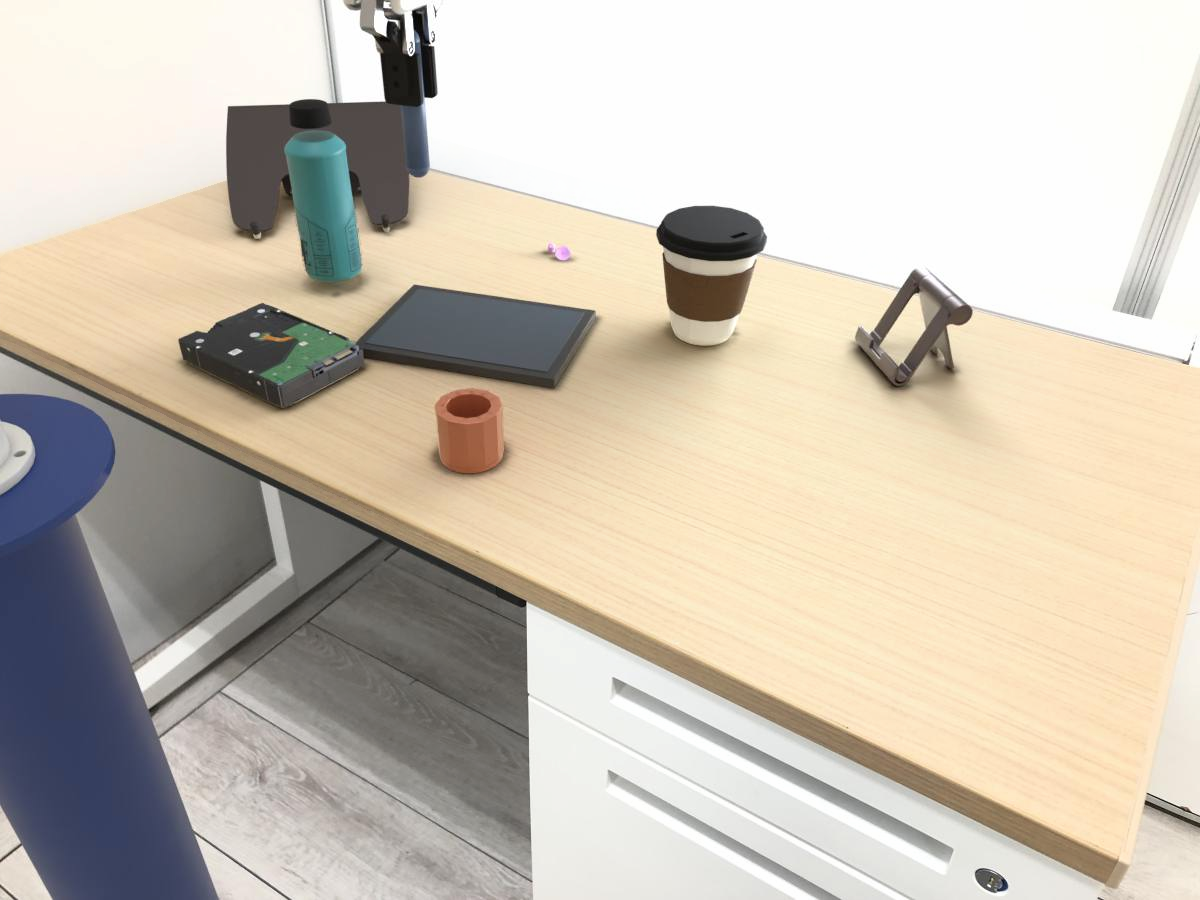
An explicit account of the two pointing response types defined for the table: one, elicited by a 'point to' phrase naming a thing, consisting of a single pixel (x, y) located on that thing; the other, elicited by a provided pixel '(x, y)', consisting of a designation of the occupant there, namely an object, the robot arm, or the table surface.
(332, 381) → the disk drive
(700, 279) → the coffee cup
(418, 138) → the blue rounded rod
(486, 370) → the tablet
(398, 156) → the laptop tray
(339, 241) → the beverage bottle
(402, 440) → the table surface
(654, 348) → the table surface
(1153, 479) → the table surface
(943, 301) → the tablet stand
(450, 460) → the pen pot
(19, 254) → the table surface
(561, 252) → the pink pawn
